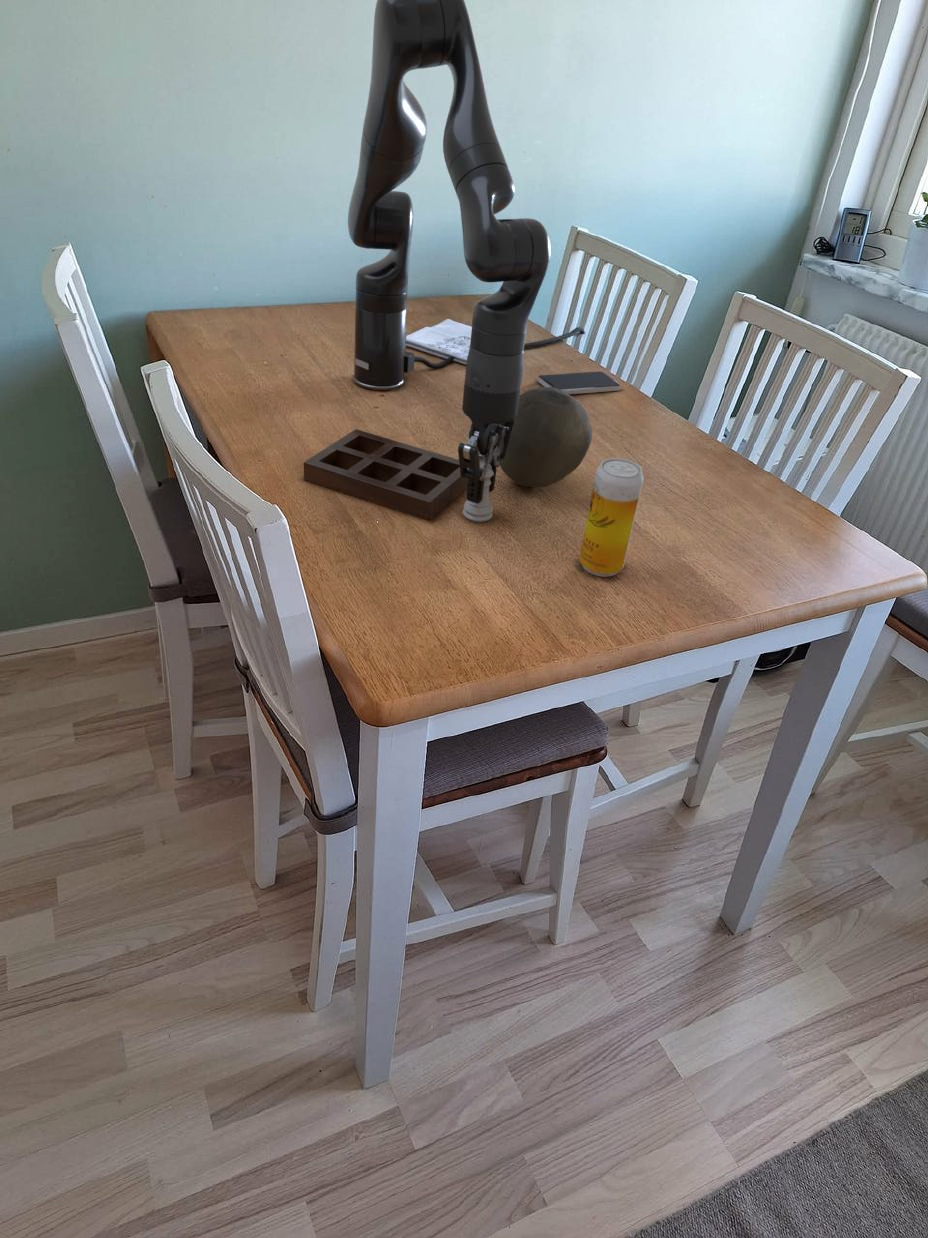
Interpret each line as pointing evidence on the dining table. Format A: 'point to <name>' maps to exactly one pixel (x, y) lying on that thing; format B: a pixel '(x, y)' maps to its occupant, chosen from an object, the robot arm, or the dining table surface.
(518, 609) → the dining table surface
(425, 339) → the white paper booklet
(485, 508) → the rook chess piece
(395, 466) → the open grid frame
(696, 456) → the dining table surface
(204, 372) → the dining table surface
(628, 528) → the beer can
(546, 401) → the cantaloupe
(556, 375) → the smartphone
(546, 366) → the dining table surface
